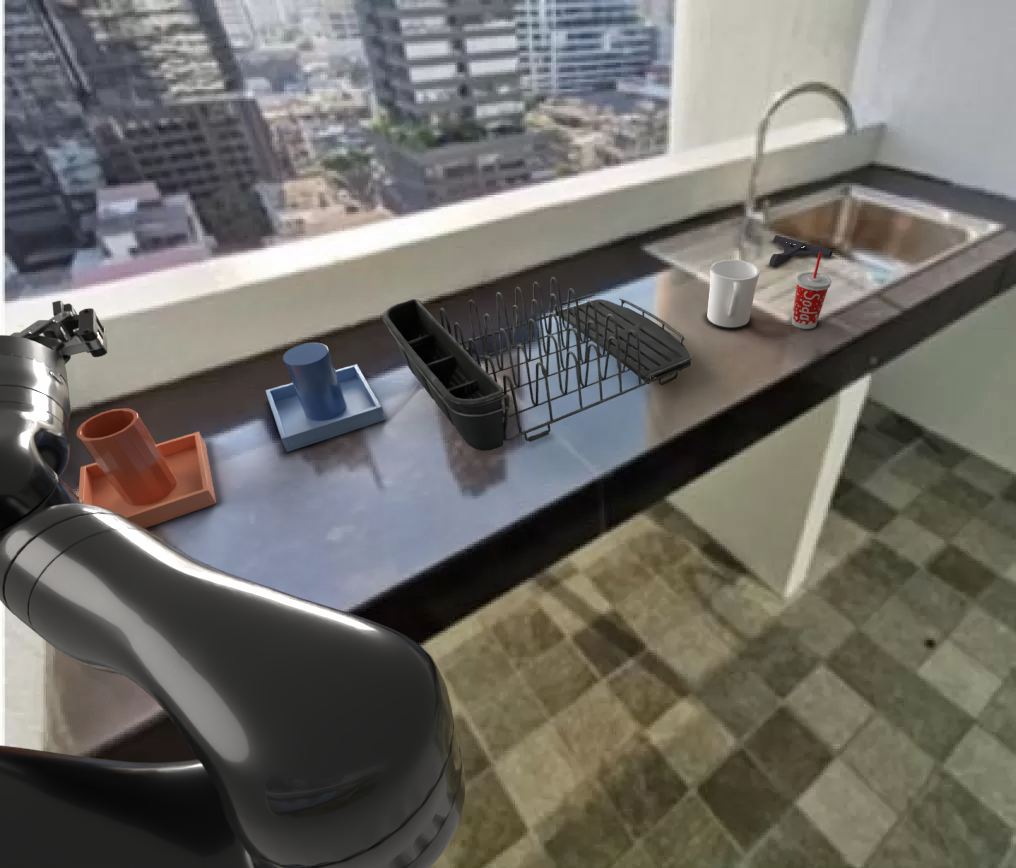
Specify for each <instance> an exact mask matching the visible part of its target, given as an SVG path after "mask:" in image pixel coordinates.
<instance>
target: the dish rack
mask: <svg viewBox="0 0 1016 868" xmlns="http://www.w3.org/2000/svg"><path fill="white" fill-rule="evenodd" d="M549 281H550V283H549V284H550V296H549V313H548V315H547V314H546V309H545V302H544V294H543V293H544V292H543V289H542V286H541V284H540V283H539V282H538V281H534V282H533V283H532V284H533V285H532V296H533V297H532V298H533V299H532V300H531V318H529V319H528V313H527V307H526V306H527V305H526V301H525V294H524V291H523V289H522V288H521V287H520V286H516V287H515V288H514V295H515V296H514V297H515V298H514V299H515V302H514V303H515V304H514V305H512V308H511V310H512V311H511V314H512V326H510V323H509V317H508V311H507V305H506V300H505V297H504V295H503V294H502V293H501V292H500V291H499V292H496V295H495V298H496V299H495V300H496V301H495V302H496V315H497V316H496V317H497V329H498V330H497V331H495V327H494V323H493V320H492V317H491V316H490V314H488V313H485V314H484V315H483V322H484V334H483V331H482V325H481V321H480V317H479V311H478V307H477V304H476V302H475V301H474V300H473V299H469V300H468V309H469V318H470V328H471V336H472V337H471V338H468V339H467V340H465V338H464V332H463V330H462V327H461V325H460V324H459V323H458V321H457V322H456V321H455V322H454V324H453V330H454V336H455V338H454V337H453V332H452V328H451V324H450V319H449V316H448V313H447V311H446V309H445V308H444V307H440V308H439V316H440V323H439V321H438V320H436V318H435V317H434V316H433V315H432V314H431V313H430V311H429V310H428V309H427V308H426V307H425V306H424V305H423V304H422V301H421V300H419V299H417V298H412V299H409V300H404V301H402V302H399V303H395V304H393V305H392V306H390V307H388V308H387V309H386V310H385V311H384V312H383V314H382V321H383V323H384V324H385V326H386V327H387V328H388V330H389V332H390V334H391V335H392V336H393V337H394V339H395V340H396V343H397V346H398V349H399V351H400V353H401V356H402V358H403V360H404V362H405V365H406V366H407V367H408V369H409V370H410V372H411V373H412V374H413V376H414V377H415V378H416V379H417V381H418V382H419V383H420V385H421V386H422V387H423V389H424V390H425V391H426V393H427V394H428V396H430V398H431V399H432V400H433V401H434V402H435V405H436V406H437V407H438V408H439V409H440V411H441V412H442V413H443V415H444V416H445V418H446V419H447V420H448V422H450V424H451V425H452V426H453V427H454V428H455V430H456V432H457V433H458V434H459V435H460V437H461V438H462V439H463V440H464V442H465V443H466V444H467V445H468V447H469V446H470V448H472V449H474V450H477V451H484V452H485V451H492V450H497V449H499V448H501V447H504V442H507V441H508V442H509V441H511V440H514V439H516V438H518V437H521V436H524V440H525V441H526V442H529V443H531V442H533V441H536V440H539V439H541V438H543V437H546V436H549V435H550V432H551V425H552V424H554V423H557V422H559V421H562V420H564V419H567V418H569V417H572V416H574V415H576V414H579V413H582V412H585V411H586V410H589V409H591V408H593V407H596V406H598V405H601V404H603V403H606V402H608V401H610V400H612V399H615V398H618V397H619V396H620V397H621V396H622V395H625V394H627V393H629V392H632V391H634V390H636V389H639V388H642V387H643V386H646V385H650V384H651V383H653V382H656V381H658V385H659V386H665V385H668V383H671V382H673V381H676V380H677V379H678V377H679V372H682V371H683V370H686V369H687V368H690V367H692V361H693V356H691V354H690V352H689V350H688V349H687V348H686V346H685V345H684V340H685V336H684V335H683V334H682V333H680V332H679V331H678V330H676V329H675V328H674V327H672V326H671V325H670V324H668V323H667V322H665V321H664V320H662V319H661V318H659V317H658V316H656V315H655V314H653V313H651V312H649V311H648V310H646V309H644V308H642V307H641V306H638V305H637V304H634V303H632V302H630V301H628V300H626V299H624V298H621V297H619V298H618V300H620V302H621V304H620V305H619V304H617V303H615V302H612V301H610V300H606V299H600V298H598V299H594V300H587V301H586V302H584V303H581V304H579V301H582V300H585V299H588V298H592V297H594V296H595V295H596V294H595V293H590V294H587V295H583V296H579V297H578V293H577V292H576V290H575V289H574V288H572V287H570V288H569V289H568V292H567V300H566V301H562V298H561V297H562V296H561V290H560V283H559V280H558V279H557V278H556V277H555V276H552V277H551V278H550V280H549ZM554 282H555V284H556V286H557V295H556V294H555V293H554ZM536 285H537V288H538V289H539V293H540V303H539V301H538V300H537V299H536ZM518 291H519V293H520V294H521V300H522V309H523V315H524V321H525V322H523V318H522V313H521V309H520V308H519V305H518V298H519V297H518ZM571 292H572V293H573V295H574V298H573V299H571ZM499 297H500V299H501V301H502V306H503V309H504V316H505V323H506V327H505V328H503V327H501V315H500V301H499V300H500V299H499ZM554 299H555V302H556V304H555V305H554ZM574 302H575V305H574V306H571V303H574ZM624 304H627V305H629V306H631V307H632V308H634V309H636V310H638V311H640V312H641V313H642V314H640V313H638V312H637V311H635V310H632V309H631V308H629V307H626V306H624ZM472 305H473V307H472ZM565 305H566V306H567V307H566V308H563V306H565ZM472 308H474V311H475V316H476V322H477V326H478V327H477V328H478V331H479V336H476V337H475V325H474V317H473V309H472ZM536 308H537V310H538V318H537V316H536V315H537V314H536V311H537V310H536ZM645 314H646V315H647V316H649V317H650V318H652V319H654V320H656V321H657V322H658V323H660V324H661V326H660V325H659V324H657V323H656V322H654V321H653V320H651V319H649V317H646V316H645ZM542 315H543V316H542ZM444 318H445V320H444ZM487 319H488V320H489V323H490V330H491V332H490V333H488V320H487ZM547 319H548V320H547ZM553 319H554V320H555V325H556V326H555V327H556V332H553V329H552V325H553V323H552V322H553ZM547 321H548V323H547ZM445 322H446V327H445ZM537 322H539V326H540V333H539V327H538V324H537ZM543 322H544V323H543ZM565 322H566V323H565ZM543 324H544V325H543ZM524 326H526V332H527V338H528V341H526V339H525V333H524V331H525V330H524ZM570 326H571V327H570ZM446 328H447V329H446ZM519 328H520V334H521V340H522V343H521V342H520V343H518V344H516V329H519ZM563 328H564V329H563ZM665 328H666V329H668V330H670V331H671V332H672V333H673V334H675V335H676V336H678V337H679V338H680V340H679V339H677V338H676V337H675V336H674V335H673V334H671V333H670V332H669V331H667V330H666V329H665ZM544 329H545V333H546V335H545V334H544ZM511 330H512V334H511ZM458 331H459V334H458ZM552 332H553V333H552ZM564 332H566V334H565V335H566V336H565V341H564ZM571 332H573V334H574V337H575V344H573V345H570V339H571V335H570V334H571ZM535 333H536V338H535ZM497 334H498V335H499V350H498V345H497V340H496V335H497ZM503 335H504V337H505V339H506V346H507V347H505V348H504V345H503ZM540 335H541V336H540ZM555 335H557V339H556V338H555ZM582 335H583V337H582ZM459 336H460V340H461V341H459ZM491 336H492V341H493V342H492V343H493V348H494V351H493V352H490V351H489V350H490V349H489V338H488V337H491ZM545 338H546V340H545ZM484 339H485V341H484ZM478 340H479V341H480V342H481V346H482V351H483V353H484V354H483V355H480V354H479V349H478V346H477V344H476V341H478ZM551 340H552V341H553V343H554V347H555V348H554V349H555V351H553V352H551ZM536 341H537V348H538V356H537V357H534V358H532V342H536ZM541 342H542V344H541ZM590 342H593V343H590ZM466 344H468V347H467V346H466ZM526 344H528V352H527V345H526ZM584 344H585V346H584V347H585V350H584V359H583V353H582V345H584ZM542 347H543V353H544V354H543V353H542ZM574 347H576V354H575V353H574V352H573V351H571V350H570V349H571V348H574ZM592 347H593V349H594V350H595V353H596V357H594V358H592V359H591V348H592ZM473 348H474V352H475V356H476V357H473V356H474V355H473ZM515 348H516V364H514V362H513V354H512V349H515ZM600 348H601V349H602V352H601V349H600ZM520 350H521V351H522V353H523V355H524V361H523V362H521V360H520V359H521V358H520ZM505 351H507V352H508V357H509V364H510V366H508V367H505V365H504V352H505ZM563 351H566V355H565V365H564V359H563V358H564V357H563ZM499 353H500V354H499ZM492 355H495V359H496V364H497V368H498V370H496V368H495V363H494V361H493V359H492V357H491V356H492ZM499 355H500V356H499ZM551 355H555V358H556V368H557V371H556V372H553V373H551V374H549V372H550V371H549V369H550V368H549V365H550V356H551ZM570 355H571V356H572V358H573V360H574V365H572V366H570ZM610 356H611V357H612V358H614V359H615V360H616V367H617V373H614V374H612V375H610V376H607V374H608V367H609V358H610ZM499 357H500V358H499ZM545 357H546V358H545ZM483 358H484V368H485V369H484V368H483V367H482V364H481V363H482V362H481V359H483ZM543 358H545V359H546V360H545V361H546V363H545V365H544V359H543ZM602 358H605V365H604V373H603V375H602V369H601V368H602V367H601V359H602ZM537 360H539V361H537ZM534 361H537V362H536V364H535V379H534V380H532V378H531V372H530V365H529V363H530V362H534ZM594 361H596V362H597V377H598V378H597V379H598V380H597V381H593V382H592V383H589V384H588V380H589V370H590V363H591V362H594ZM489 364H490V368H491V372H489ZM522 365H525V368H526V375H527V382H526V383H523V384H521V366H522ZM582 365H586V366H585V376H584V383H583V377H582V376H583V375H582ZM539 366H540V371H541V374H542V377H539V374H540V373H539ZM516 367H517V368H516ZM515 368H516V369H517V370H516V371H517V378H516V373H515ZM561 368H562V369H561ZM574 368H575V375H576V385H577V388H575V389H573V390H569V391H568V389H569V388H568V387H569V370H572V369H574ZM510 369H511V374H512V378H511V377H510V375H509V374H507V373H505V374H503V375H502V386H503V387H502V386H501V385H500V384H499V382H498V377H497V374H498V373H501V372H504V371H507V370H510ZM630 371H631V372H632V374H634V375H636V376H637V380H638V384H637V385H635V386H632V387H630V388H627V389H625V390H623V379H622V378H623V376H622V374H624V373H627V372H630ZM563 372H565V378H564V389H563V381H562V373H563ZM673 374H675V375H674V376H673V377H670V378H668V379H666V380H664V381H662V380H663V379H664V378H666V377H668V376H672V375H673ZM555 375H558V384H559V386H558V387H559V390H560V393H561V394H560V395H558V396H555V397H551V393H550V387H549V379H548V378H549V377H552V376H555ZM492 376H493V377H492ZM616 376H617V378H618V387H619V388H618V389H619V392H618V393H615V394H612V395H610V396H607V397H605V398H603V382H604V381H606V380H609V379H611V378H613V377H616ZM516 379H517V380H516ZM542 380H544V384H545V385H544V386H545V390H546V391H545V392H546V399H547V400H544V401H542V402H539V392H540V391H539V390H540V389H539V388H540V387H539V386H540V385H539V382H540V381H542ZM507 381H508V383H509V389H508V387H507ZM642 381H643V382H642ZM533 383H535V398H534V393H533V385H532V384H533ZM596 384H598V389H599V400H598V401H595V402H592V403H590V404H588V405H586V406H583V396H582V395H583V394H582V390H583V389H586V388H588V387H591V386H593V385H596ZM526 386H528V388H529V396H530V402H531V404H532V405H531V406H528V407H526V408H523V409H521V410H519V409H518V402H517V395H516V391H515V390H517V389H520V388H522V387H523V388H524V387H526ZM509 392H511V397H510V395H509V394H508V393H509ZM576 392H577V393H578V394H577V395H578V404H579V408H578V409H576V410H573V411H570V412H568V413H566V414H563V415H561V416H559V417H556V418H554V416H553V408H552V407H553V406H552V401H555V400H557V399H560V398H563V397H565V396H568V395H571V394H573V393H576ZM511 398H512V403H513V407H514V412H513V413H511V414H510V408H511V405H510V401H511V400H510V399H511ZM503 403H504V405H503ZM545 404H547V406H548V413H549V420H547V421H546V422H544V423H540V424H537V425H535V426H533V427H530V428H527V429H525V430H523V431H522V426H521V420H520V416H519V415H520V414H522V413H524V412H527V411H529V410H532V409H534V408H537V407H539V406H540V407H541V406H542V405H545ZM514 416H515V419H516V425H517V430H518V432H517V433H515V434H512V435H511V436H508V425H509V418H511V417H514ZM545 427H547V429H545V430H543V431H541V432H538V433H536V434H533V435H530V436H528V435H527V434H529V433H532V432H534V431H537V430H540V429H542V428H545Z"/></svg>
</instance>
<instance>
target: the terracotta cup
mask: <svg viewBox="0 0 1016 868" xmlns="http://www.w3.org/2000/svg"><path fill="white" fill-rule="evenodd" d="M76 437H77V439H78V440H79V441H80V443H81V444H82V445H83V447H84V448H85V450H86V451H87V453H88V454H89V455H90V457H91V459H93V461H94V463H96V464H97V465H98V466H99V468H100V469H101V471H102V472H103V473H104V475H105V476H106V478H107V479H108V480H109V482H110V483H111V485H112V486H113V487H114V489H115V490H116V492H117V493H118V494H119V496H120V497H121V498H122V499H123V501H124V502H125V503H127V504H129V505H134V506H138V505H145V504H149V503H152V502H155V501H157V500H159V499H161V498H163V497H165V496H166V495H168V494H169V493H170V492H171V491H172V490H173V489H174V488H175V486H176V484H177V478H176V476H175V474H174V472H173V470H172V469H171V467H170V465H169V464H168V462H167V460H166V459H165V457H164V456H163V454H162V452H161V451H160V449H159V447H158V446H157V444H158V443H156V441H155V439H154V438H153V436H152V433H150V431H149V430H148V428H147V426H146V425H145V423H144V421H143V420H142V418H141V416H140V415H139V413H138V412H137V411H135V410H134V409H131V408H115V409H110V410H106V411H103V412H100V413H97V414H95V415H94V416H91V417H89V418H88V419H87V420H85V421H84V422H82V423H81V424H80V426H79V427H78V428H77V430H76Z"/></svg>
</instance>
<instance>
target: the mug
mask: <svg viewBox="0 0 1016 868" xmlns="http://www.w3.org/2000/svg"><path fill="white" fill-rule="evenodd" d="M760 271H761V270H760V268H759V266H757V265H756V264H754V263H752V262H750V261H747V260H742V259H722V260H718V261H715V262H713V263H712V264H711V265H710V270H709V291H708V294H709V295H708V304H707V311H706V312H707V315H706V319H707V321H708V323H709V324H710V325H711V326H713V327H716V328H718V329H722V330H728V331H731V330H732V331H733V330H735V331H736V330H741V329H743V328H745V327H746V326H747V325H748V324H749V323H750V320H751V319H750V318H751V313H752V309H753V303H754V298H755V294H756V288H757V284H758V281H759V277H760V273H761V272H760Z"/></svg>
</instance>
